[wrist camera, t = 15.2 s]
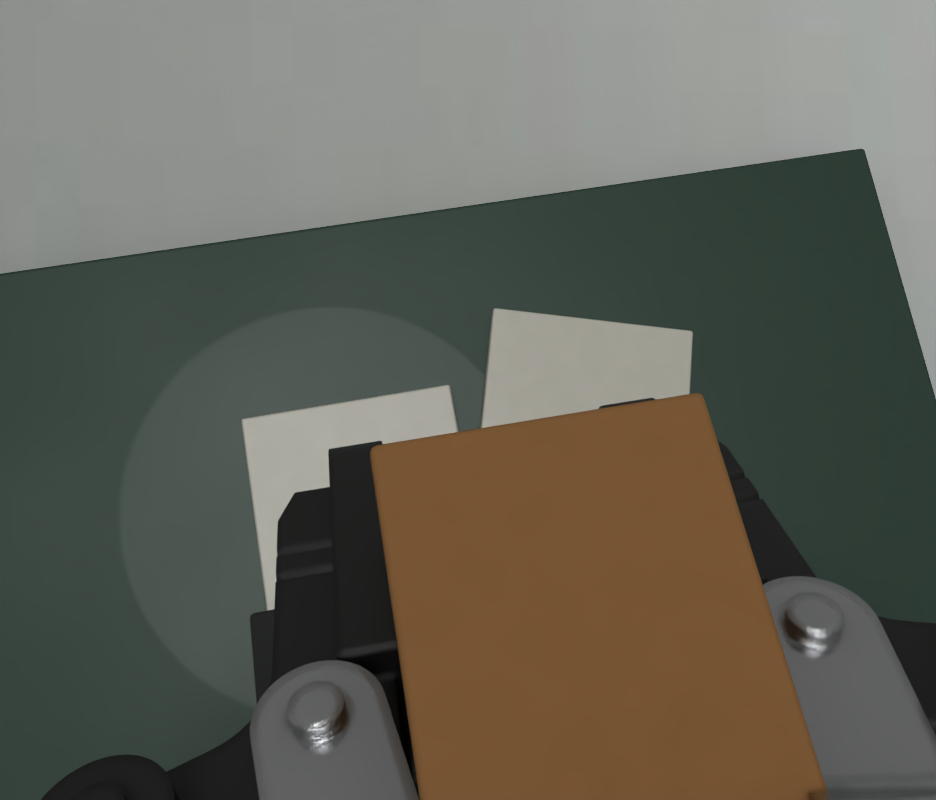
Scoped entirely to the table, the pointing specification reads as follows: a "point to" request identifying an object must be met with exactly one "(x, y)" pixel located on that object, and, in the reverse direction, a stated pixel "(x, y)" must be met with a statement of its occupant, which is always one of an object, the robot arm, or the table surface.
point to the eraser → (582, 614)
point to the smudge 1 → (326, 450)
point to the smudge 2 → (577, 365)
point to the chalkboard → (406, 369)
